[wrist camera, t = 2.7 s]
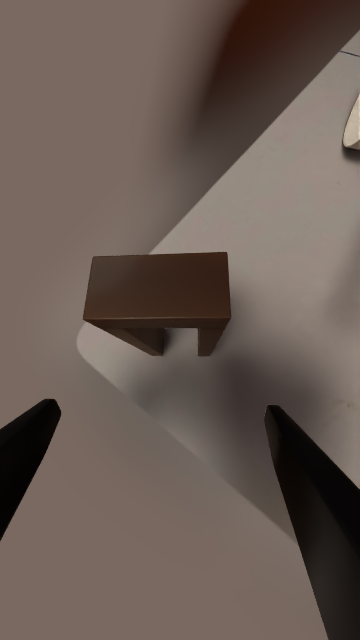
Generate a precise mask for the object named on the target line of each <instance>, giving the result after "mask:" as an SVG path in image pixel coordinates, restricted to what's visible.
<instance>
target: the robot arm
mask: <svg viewBox="0 0 360 640" xmlns="http://www.w3.org/2000/svg"><path fill="white" fill-rule="evenodd" d="M60 417H61V410H60V408H59V406H58V404H57V402H56V400H55V399H44V400H42V401H41V402H39V403H38V404H36V405H35V406H33V407H32V408H31V409H29V410H28V411H26V412H25V413H23V414H22V415H20V416H19V417H17V418H16V419H15V420H13V421H12V422H10V423H9V424H7V425H6V426H4V427H3V428H1V429H0V541H1V539H2V537H3V535H4V533H5V531H6V529H7V527H8V525H9V523H10V521H11V519H12V517H13V515H14V514H15V512H16V510H17V508H18V506H19V504H20V502H21V500H22V498H23V496H24V494H25V492H26V490H27V488H28V486H29V485H30V483H31V481H32V479H33V477H34V475H35V473H36V471H37V469H38V467H39V465H40V463H41V461H42V459H43V457H44V455H45V453H46V451H47V449H48V446H49V444H50V441H51V439H52V437H53V434H54V432H55V429H56V427H57V424H58V422H59V420H60ZM264 423H265V428H266V433H267V438H268V442H269V447H270V452H271V456H272V461H273V465H274V469H275V472H276V475H277V478H278V482H279V485H280V488H281V491H282V494H283V497H284V500H285V504H286V507H287V510H288V513H289V516H290V519H291V523H292V526H293V529H294V532H295V535H296V538H297V541H298V545H299V548H300V551H301V554H302V557H303V560H304V563H305V566H306V570H307V573H308V576H309V579H310V582H311V585H312V589H313V592H314V595H315V598H316V601H317V604H318V608H319V611H320V614H321V617H322V620H323V623H324V626H325V630H326V633H327V636H328V639H329V640H360V489H359V488H358V487H357V486H356V485H355V484H354V483H353V482H352V481H351V480H350V479H349V478H348V477H347V476H346V475H345V474H344V473H343V472H342V470H341V469H340V468H339V467H338V466H337V465H336V464H335V463H334V462H333V461H332V460H331V459H330V458H329V457H328V456H327V455H326V454H325V453H324V452H323V451H322V450H321V449H320V448H319V446H318V445H317V444H316V443H315V442H314V441H313V440H312V439H311V438H310V437H309V436H308V435H307V434H306V433H305V432H304V431H303V430H302V429H301V428H300V427H299V426H298V425H297V424H296V422H295V421H294V420H293V419H292V418H291V417H290V416H289V415H288V414H287V413H286V412H285V411H284V410H283V409H282V408H281V407H280V406H279V405H268V406H267V408H266V412H265V416H264Z"/></svg>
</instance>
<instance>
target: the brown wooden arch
mask: <svg viewBox="0 0 360 640" xmlns="http://www.w3.org/2000/svg"><path fill="white" fill-rule="evenodd" d="M230 319H231V305H230V288H229V271H228V255H227V252H212V253H183V254H154V255H126V256H98V257H93V259H92V265H91V271H90V277H89V283H88V290H87V296H86V302H85V308H84V315H83V320H85V321H87V322H89V323H90V324H92V325H94V326H96V327H98V328H100V329H102V330H104V331H106V332H108V333H110V334H112V335H114V336H115V337H117V338H119V339H121V340H123V341H125V342H127V343H129V344H131V345H133V346H134V347H136V348H138V349H140V350H142V351H144V352H146V353H148V354H150V355H152V356H162V355H163V336H164V328H198V356H210V355H211V353H212V352H213V350H214V348H215V346H216V344H217V343H218V341H219V339H220V337H221V335H222V334H223V332H224V330H225V328H226V326H227V324H228V323H229V321H230Z"/></svg>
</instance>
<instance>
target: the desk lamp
mask: <svg viewBox="0 0 360 640" xmlns="http://www.w3.org/2000/svg"><path fill="white" fill-rule="evenodd" d="M343 143H344V146H346V147H349V148H353V149H358V150H360V94H359V96H358V98H357V100H356V103H355V105H354V107H353V109H352V112H351V114H350V117H349V119H348V122H347V125H346V128H345V132H344V137H343Z"/></svg>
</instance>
